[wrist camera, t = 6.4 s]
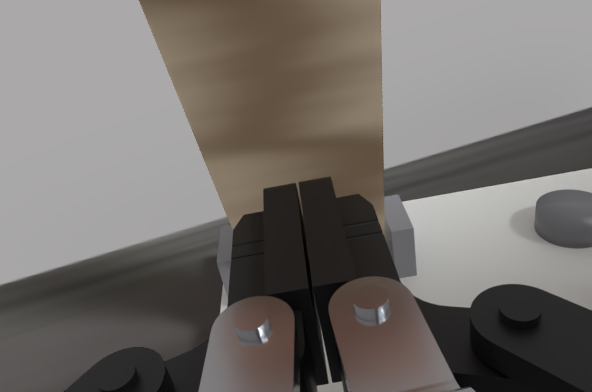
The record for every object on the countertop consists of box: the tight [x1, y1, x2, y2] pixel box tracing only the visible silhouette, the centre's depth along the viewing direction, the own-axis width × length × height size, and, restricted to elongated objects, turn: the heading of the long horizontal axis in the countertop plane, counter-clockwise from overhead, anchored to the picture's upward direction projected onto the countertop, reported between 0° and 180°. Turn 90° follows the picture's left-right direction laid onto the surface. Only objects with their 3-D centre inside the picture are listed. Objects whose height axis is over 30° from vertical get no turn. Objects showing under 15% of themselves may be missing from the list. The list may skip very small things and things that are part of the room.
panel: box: [217, 168, 592, 392], centre depth 17 cm, size 24×16×4 cm, turn 93°
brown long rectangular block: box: [139, 0, 385, 237], centre depth 15 cm, size 6×3×17 cm, turn 93°
